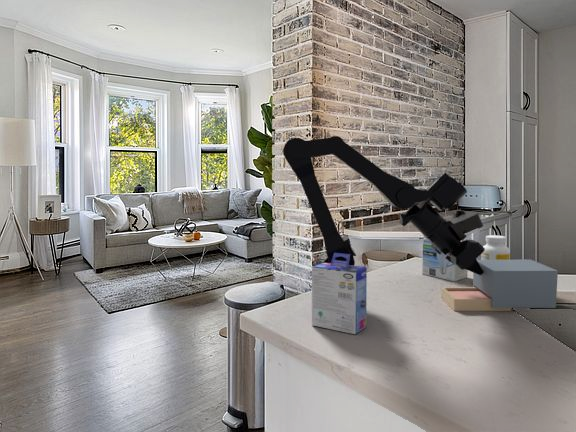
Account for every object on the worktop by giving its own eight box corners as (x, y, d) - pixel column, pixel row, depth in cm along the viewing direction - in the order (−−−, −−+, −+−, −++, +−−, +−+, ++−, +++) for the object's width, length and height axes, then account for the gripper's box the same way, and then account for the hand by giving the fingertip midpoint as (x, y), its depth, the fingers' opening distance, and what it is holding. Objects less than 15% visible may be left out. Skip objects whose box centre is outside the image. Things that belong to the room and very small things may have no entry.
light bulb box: (421, 274, 120) (421, 238, 119) (434, 270, 124) (435, 235, 123) (455, 281, 111) (456, 242, 110) (468, 277, 115) (469, 239, 114)
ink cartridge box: (368, 326, 81) (368, 254, 80) (357, 336, 77) (356, 260, 75) (324, 317, 87) (323, 250, 85) (311, 326, 82) (309, 255, 80)
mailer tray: (453, 310, 89) (454, 299, 89) (441, 297, 98) (441, 287, 98) (511, 310, 88) (511, 299, 88) (493, 297, 97) (493, 287, 97)
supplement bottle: (511, 284, 108) (513, 236, 106) (504, 290, 103) (506, 239, 102) (485, 280, 112) (486, 233, 111) (476, 285, 108) (478, 237, 106)
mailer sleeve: (492, 307, 87) (493, 271, 86) (472, 292, 98) (473, 259, 97) (555, 307, 87) (557, 270, 86) (529, 292, 97) (530, 259, 96)
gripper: (475, 202, 81) (530, 257, 82) (445, 196, 100) (490, 241, 100) (434, 242, 83) (488, 295, 83) (412, 229, 101) (457, 272, 102)
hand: (481, 273), depth 92 cm, fingers closed
